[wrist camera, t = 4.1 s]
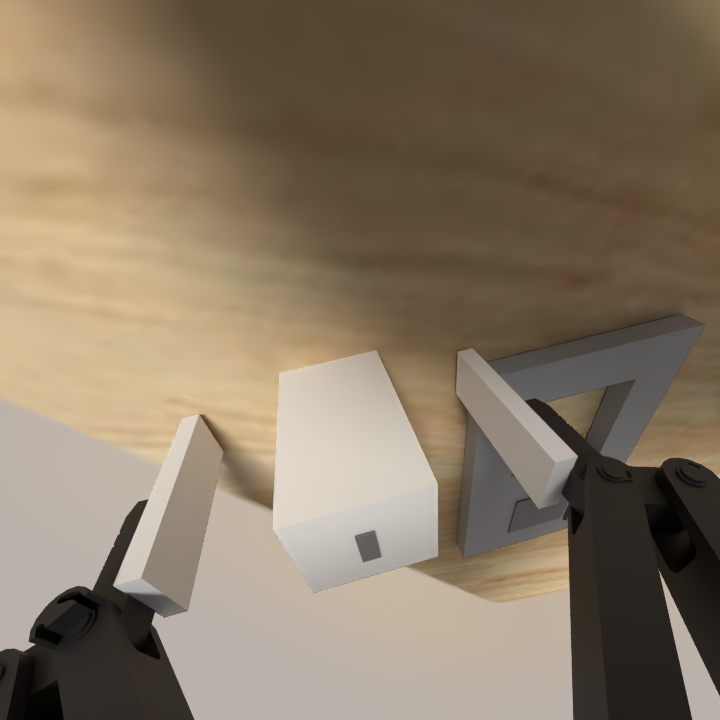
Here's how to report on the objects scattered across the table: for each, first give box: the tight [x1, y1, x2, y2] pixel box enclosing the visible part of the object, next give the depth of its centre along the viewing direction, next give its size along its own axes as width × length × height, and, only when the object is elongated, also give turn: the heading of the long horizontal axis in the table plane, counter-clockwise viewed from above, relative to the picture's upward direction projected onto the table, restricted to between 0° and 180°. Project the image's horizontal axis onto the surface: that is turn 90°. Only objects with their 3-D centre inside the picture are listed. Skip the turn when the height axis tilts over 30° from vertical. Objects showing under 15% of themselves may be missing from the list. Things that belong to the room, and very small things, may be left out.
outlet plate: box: [457, 314, 705, 558], centre depth 21 cm, size 20×12×1 cm, turn 9°
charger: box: [272, 350, 438, 593], centre depth 12 cm, size 4×4×7 cm
